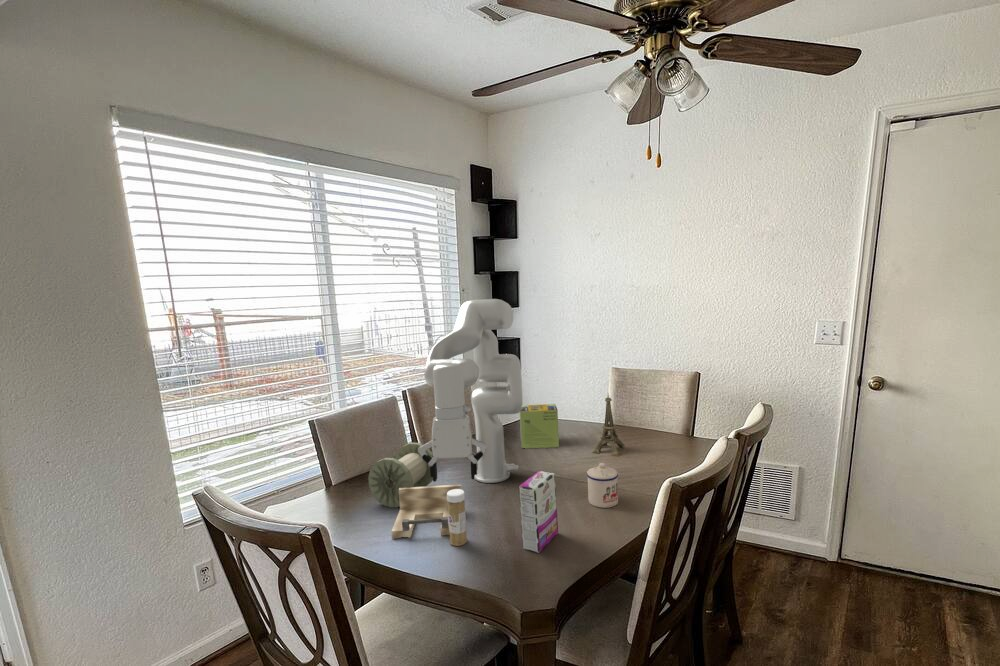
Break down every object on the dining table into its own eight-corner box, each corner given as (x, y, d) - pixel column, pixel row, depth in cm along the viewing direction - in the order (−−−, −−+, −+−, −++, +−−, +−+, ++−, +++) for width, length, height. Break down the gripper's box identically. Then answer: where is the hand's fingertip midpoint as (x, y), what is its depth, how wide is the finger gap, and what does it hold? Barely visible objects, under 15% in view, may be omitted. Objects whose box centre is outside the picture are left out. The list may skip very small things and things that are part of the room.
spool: (412, 510, 145) (409, 461, 144) (370, 504, 150) (366, 457, 149) (438, 488, 161) (435, 444, 159) (399, 483, 166) (396, 441, 165)
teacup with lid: (607, 511, 137) (605, 472, 136) (581, 502, 144) (580, 464, 143) (630, 498, 146) (629, 460, 144) (605, 489, 152) (603, 453, 151)
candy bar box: (541, 529, 130) (539, 469, 128) (558, 533, 127) (556, 472, 125) (521, 549, 120) (517, 485, 119) (539, 554, 117) (535, 488, 116)
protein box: (559, 447, 195) (558, 409, 194) (521, 449, 195) (519, 411, 194) (556, 439, 205) (555, 403, 204) (520, 441, 206) (518, 405, 204)
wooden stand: (462, 510, 143) (460, 484, 142) (459, 534, 129) (457, 505, 128) (401, 514, 143) (399, 488, 142) (391, 538, 128) (389, 509, 128)
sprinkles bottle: (446, 543, 125) (442, 492, 124) (458, 535, 128) (455, 486, 127) (458, 548, 122) (455, 497, 121) (471, 540, 125) (468, 490, 124)
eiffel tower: (627, 448, 189) (625, 385, 187) (618, 457, 181) (616, 391, 178) (601, 445, 195) (599, 384, 193) (591, 453, 186) (589, 389, 184)
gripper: (484, 407, 126) (488, 471, 127) (418, 410, 125) (422, 475, 127) (484, 414, 118) (488, 482, 120) (413, 417, 118) (418, 486, 119)
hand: (454, 478), depth 123 cm, fingers open, 9 cm apart
